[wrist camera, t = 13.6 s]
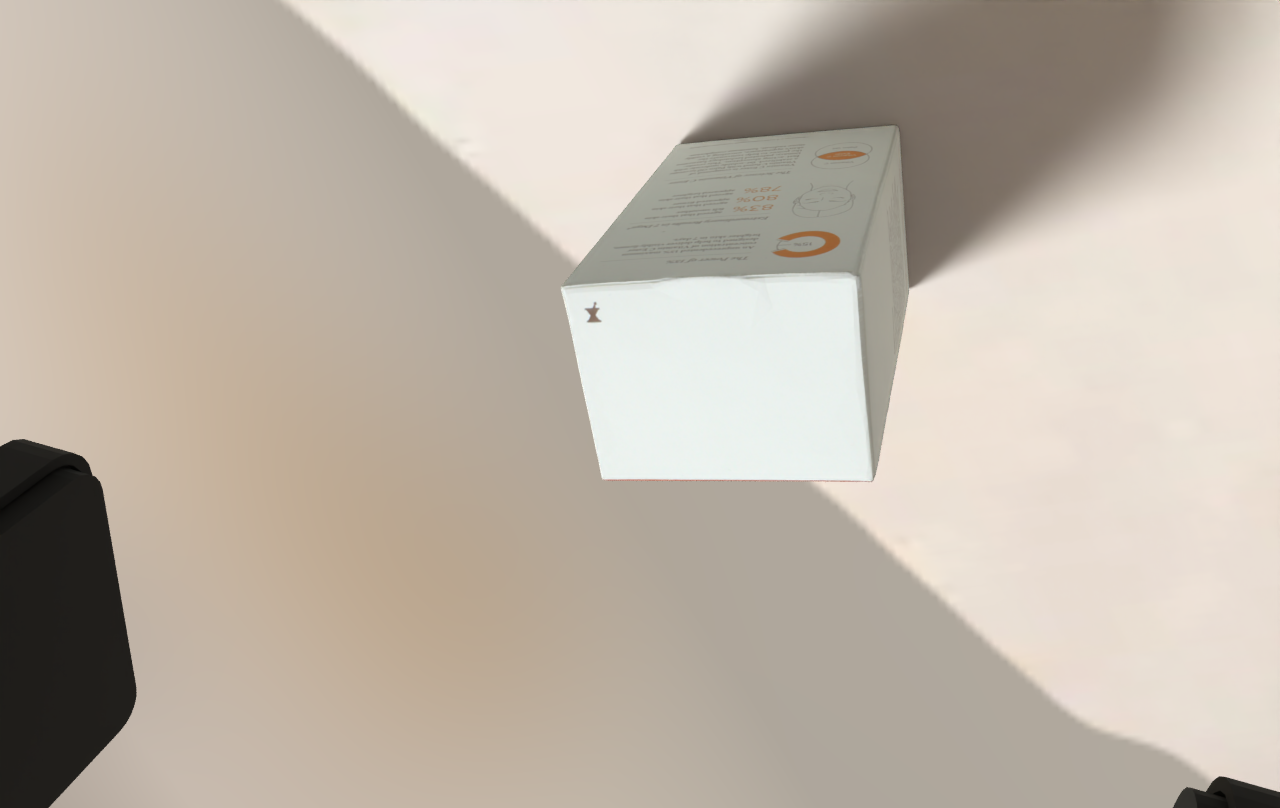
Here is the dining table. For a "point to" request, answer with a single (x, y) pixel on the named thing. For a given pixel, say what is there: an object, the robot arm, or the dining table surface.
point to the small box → (748, 311)
